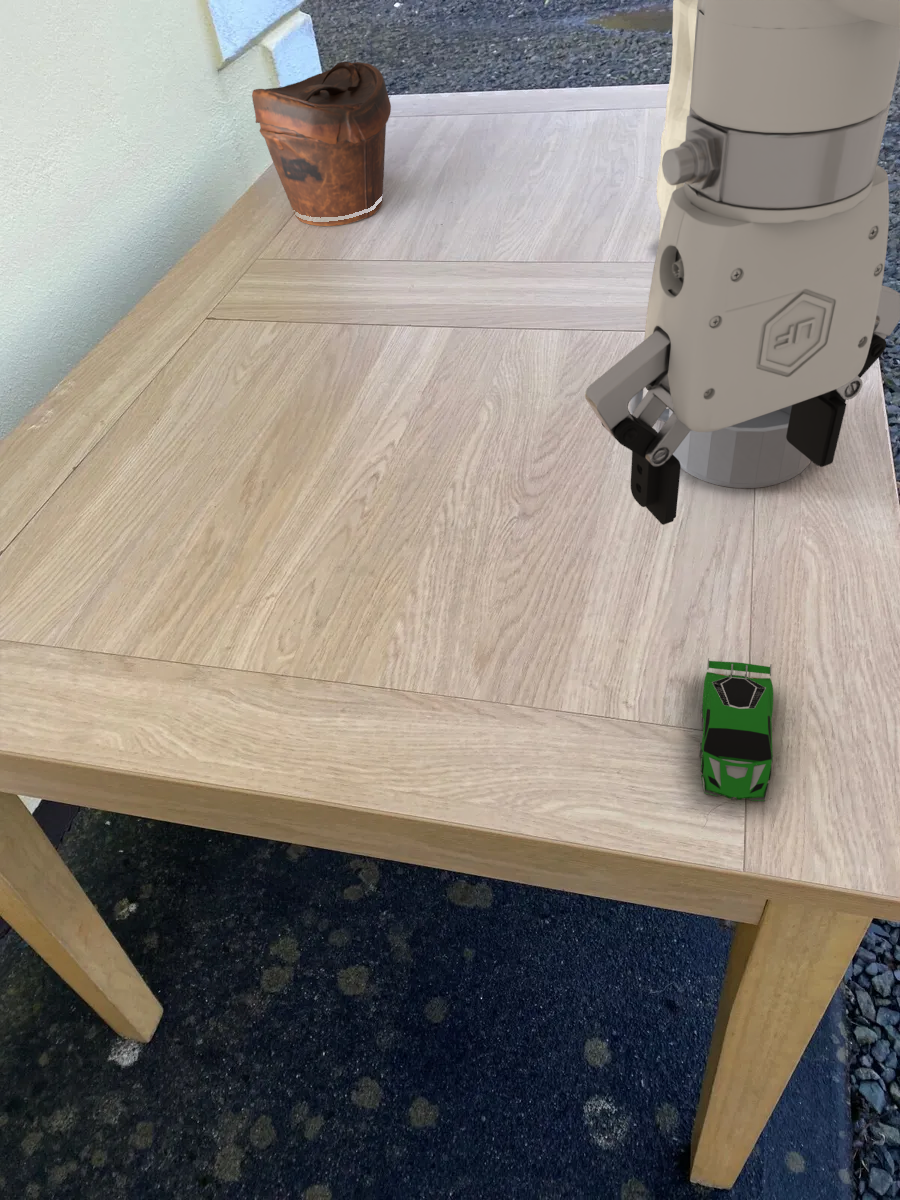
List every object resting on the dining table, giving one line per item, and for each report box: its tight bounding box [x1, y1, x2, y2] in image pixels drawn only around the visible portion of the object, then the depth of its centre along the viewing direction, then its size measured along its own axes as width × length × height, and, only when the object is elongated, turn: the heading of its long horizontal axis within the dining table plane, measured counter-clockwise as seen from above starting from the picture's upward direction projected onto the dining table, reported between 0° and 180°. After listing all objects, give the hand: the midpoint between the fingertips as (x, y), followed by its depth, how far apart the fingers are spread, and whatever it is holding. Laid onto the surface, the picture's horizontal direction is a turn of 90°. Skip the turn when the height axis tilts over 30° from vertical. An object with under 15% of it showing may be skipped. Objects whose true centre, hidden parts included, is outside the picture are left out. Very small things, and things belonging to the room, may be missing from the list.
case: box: [251, 61, 392, 227], centre depth 125 cm, size 18×20×18 cm
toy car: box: [698, 658, 774, 802], centre depth 61 cm, size 10×5×2 cm, turn 167°
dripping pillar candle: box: [656, 0, 698, 241], centre depth 101 cm, size 9×8×30 cm
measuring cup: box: [629, 389, 812, 489], centre depth 82 cm, size 17×13×6 cm
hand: (732, 480), depth 49 cm, fingers open, 9 cm apart
